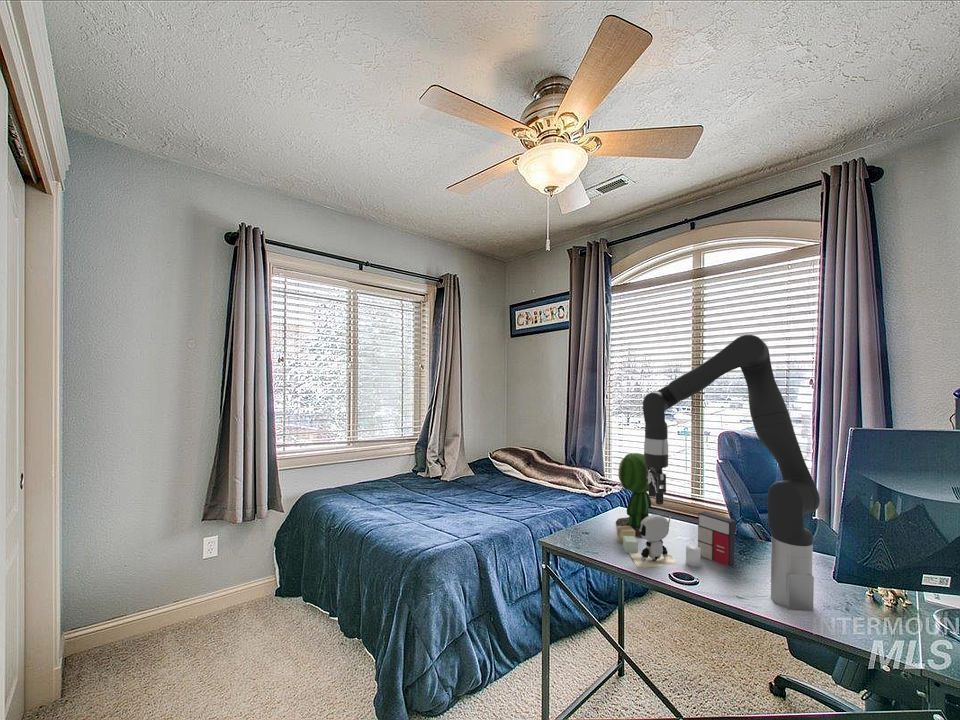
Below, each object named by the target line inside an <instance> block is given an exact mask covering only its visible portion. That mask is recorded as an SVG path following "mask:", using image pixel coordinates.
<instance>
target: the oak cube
mask: <svg viewBox="0 0 960 720" xmlns="http://www.w3.org/2000/svg"><path fill="white" fill-rule="evenodd" d="M623 536H634V537H635V538H636V536H635V530H634V529H633V528H632V527H631V526H617V525H616V540H617V541H618V543H620V544H621V545H622V546H623Z"/></svg>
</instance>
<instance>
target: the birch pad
mask: <svg viewBox="0 0 960 720" xmlns="http://www.w3.org/2000/svg"><path fill="white" fill-rule="evenodd" d="M641 553H642V552H638V553H629V556H630V557H631V560H632V561H633V563H634V565H635V567H636V568H637V569H640V570H641V569H646V568H654V567H662V566H670V565H677V564H678V563H677V561H676V559H675V558H674V557H673V555H672V554H668V556H667V557H666V558H664V557H663V554H661V557H660V558H659V559H657V560H653V559H652V558H651V557H649V556H648V558H646V561H645V562H642V561H641V557H642V555H641Z"/></svg>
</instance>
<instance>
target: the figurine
mask: <svg viewBox="0 0 960 720" xmlns="http://www.w3.org/2000/svg"><path fill="white" fill-rule="evenodd" d="M617 475H618V480H619V481H620V483H621V486H622V487H623V488H624V489H625V490H628V491H629V492H632V494H631V495H630V498H629V500H628V503H627V505H626V514H627V517H621V518H617V519H616V521H615V524H616V527H617V526H631V527H632V528H633V529H634V530H635V538H636V537H637V538H640V539H644V538H643V537H642V536H641V534H640V531H639V530H640V525H641V522H642V520H643V519H644V518H646V517H648V516H650V515H649V514H650V513H649V508H651V507H652V499H651V497H650V496H649V485H648V482H647V481H646V475H647V466H646V465H645V464H644V453H639V452H634V453H628V454H626V455H624V457H623V458H622V459H621V460H620V462H619V466H618V474H617Z"/></svg>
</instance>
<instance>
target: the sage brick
mask: <svg viewBox="0 0 960 720" xmlns="http://www.w3.org/2000/svg"><path fill="white" fill-rule="evenodd" d="M622 547H623V549H624V551H625V553H639V551H638V550H639V549H638V547H639V542H638V540H637V538H636V536H635V537H634V536H623V545H622Z"/></svg>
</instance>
